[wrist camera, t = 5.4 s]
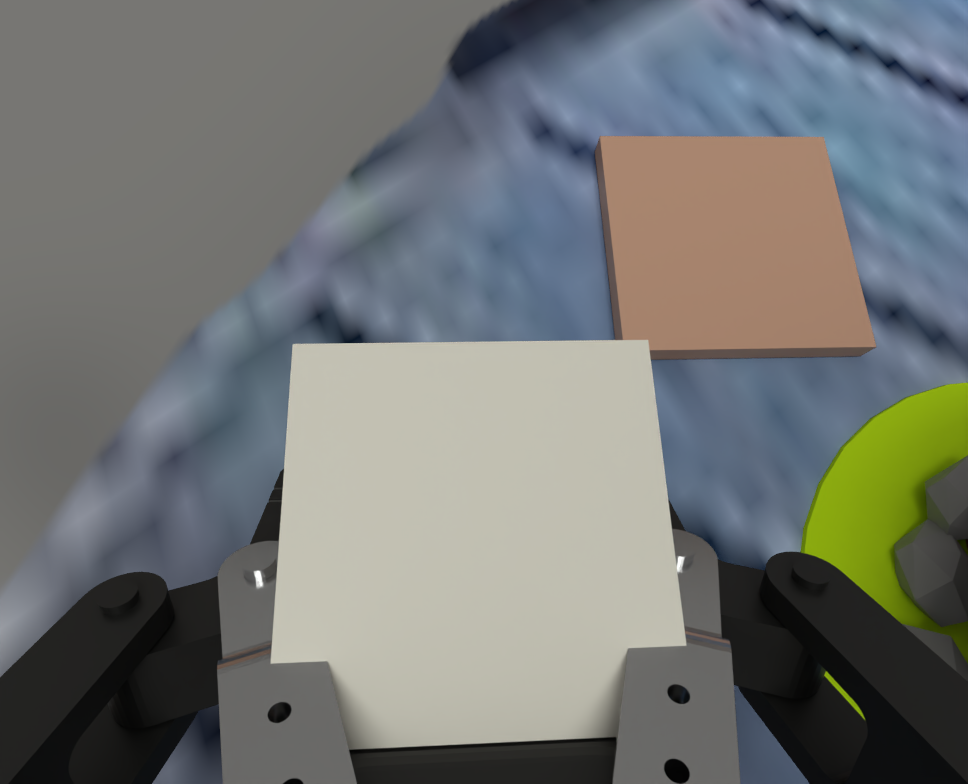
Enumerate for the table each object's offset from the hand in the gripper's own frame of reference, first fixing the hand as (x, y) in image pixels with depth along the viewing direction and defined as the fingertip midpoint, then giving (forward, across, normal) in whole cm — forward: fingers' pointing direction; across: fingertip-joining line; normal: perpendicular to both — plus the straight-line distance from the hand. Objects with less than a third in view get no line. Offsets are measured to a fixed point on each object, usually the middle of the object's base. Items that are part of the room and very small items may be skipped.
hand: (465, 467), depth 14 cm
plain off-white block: (+2, 0, +4) cm, 5 cm away
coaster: (+9, -9, -3) cm, 13 cm away
